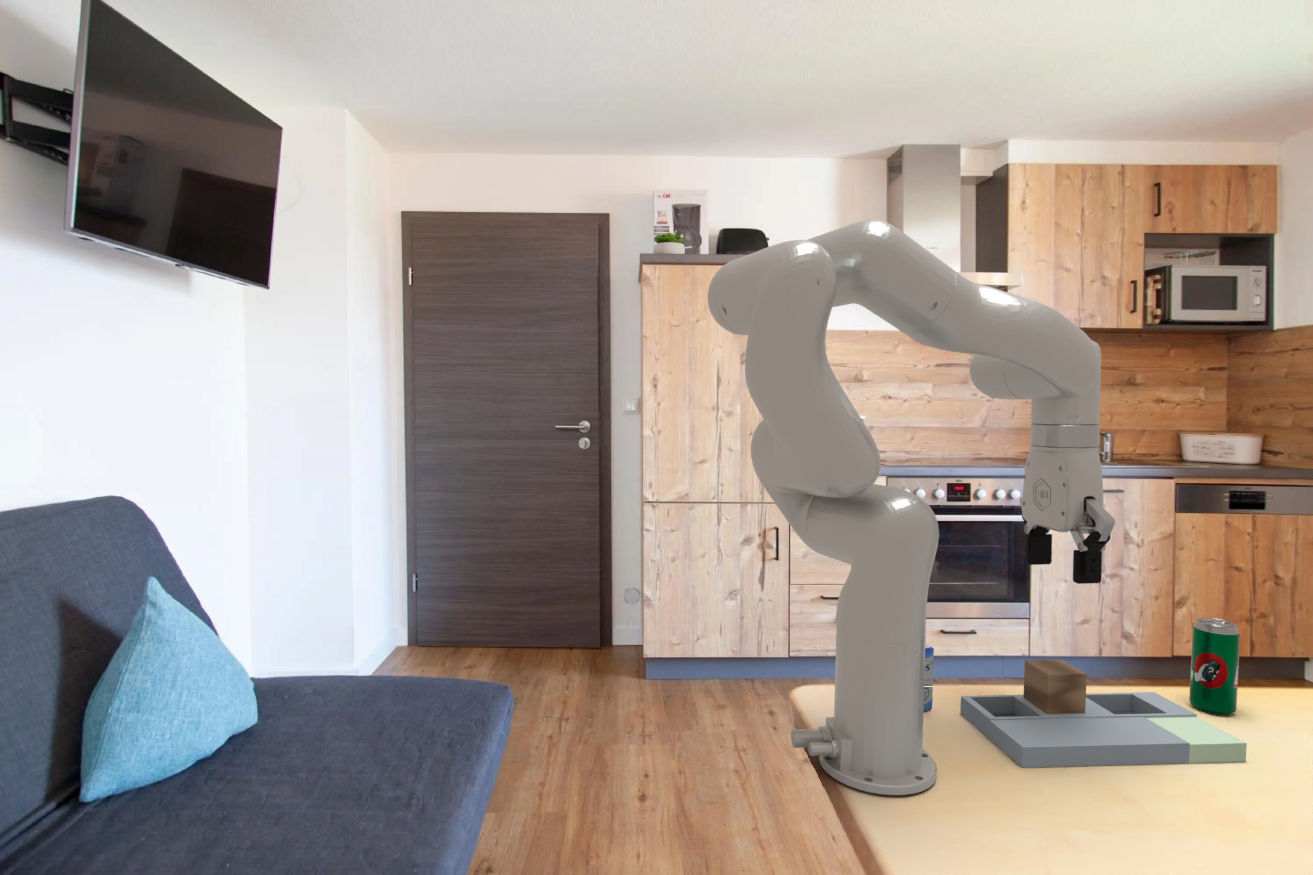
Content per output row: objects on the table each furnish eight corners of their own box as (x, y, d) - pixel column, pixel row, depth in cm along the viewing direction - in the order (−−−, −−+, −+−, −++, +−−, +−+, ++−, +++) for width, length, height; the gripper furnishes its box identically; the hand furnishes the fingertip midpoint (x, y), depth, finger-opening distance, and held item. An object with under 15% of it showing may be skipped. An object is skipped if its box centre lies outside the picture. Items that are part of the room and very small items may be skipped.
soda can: (1244, 718, 95) (1249, 629, 94) (1201, 715, 96) (1205, 626, 95) (1222, 703, 100) (1227, 617, 99) (1181, 699, 101) (1185, 615, 100)
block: (1046, 714, 90) (1048, 674, 89) (1023, 697, 95) (1024, 660, 94) (1085, 713, 90) (1086, 673, 90) (1059, 696, 95) (1061, 659, 95)
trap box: (1022, 767, 81) (1023, 745, 81) (960, 714, 95) (961, 695, 95) (1245, 761, 83) (1246, 740, 83) (1153, 710, 97) (1154, 691, 97)
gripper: (998, 435, 99) (996, 558, 100) (1080, 443, 82) (1077, 592, 83) (1051, 434, 99) (1048, 557, 100) (1143, 442, 82) (1139, 590, 83)
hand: (1061, 572), depth 92 cm, fingers open, 9 cm apart
